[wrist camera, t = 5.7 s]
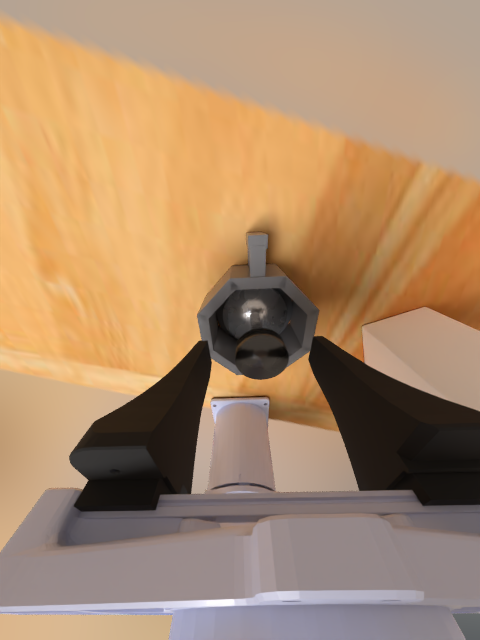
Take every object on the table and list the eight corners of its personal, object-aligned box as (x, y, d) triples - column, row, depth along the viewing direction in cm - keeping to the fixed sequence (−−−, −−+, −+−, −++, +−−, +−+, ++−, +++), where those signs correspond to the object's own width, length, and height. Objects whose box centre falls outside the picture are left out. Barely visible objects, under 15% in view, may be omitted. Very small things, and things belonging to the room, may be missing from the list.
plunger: (283, 337, 18) (302, 390, 12) (225, 340, 18) (219, 393, 12) (288, 281, 15) (318, 317, 9) (220, 284, 15) (208, 321, 9)
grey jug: (294, 345, 19) (306, 372, 16) (214, 348, 19) (208, 375, 16) (310, 229, 13) (335, 231, 10) (197, 235, 14) (182, 238, 10)
